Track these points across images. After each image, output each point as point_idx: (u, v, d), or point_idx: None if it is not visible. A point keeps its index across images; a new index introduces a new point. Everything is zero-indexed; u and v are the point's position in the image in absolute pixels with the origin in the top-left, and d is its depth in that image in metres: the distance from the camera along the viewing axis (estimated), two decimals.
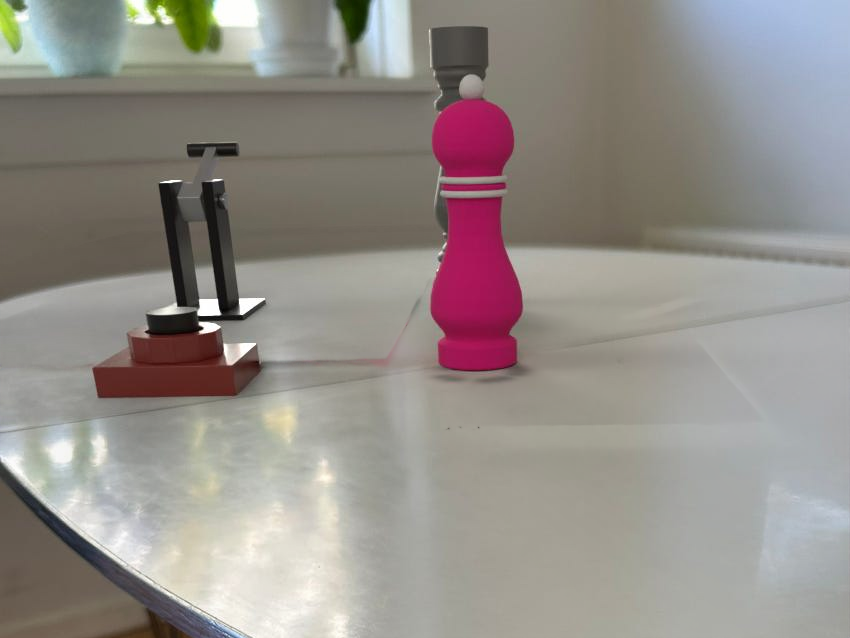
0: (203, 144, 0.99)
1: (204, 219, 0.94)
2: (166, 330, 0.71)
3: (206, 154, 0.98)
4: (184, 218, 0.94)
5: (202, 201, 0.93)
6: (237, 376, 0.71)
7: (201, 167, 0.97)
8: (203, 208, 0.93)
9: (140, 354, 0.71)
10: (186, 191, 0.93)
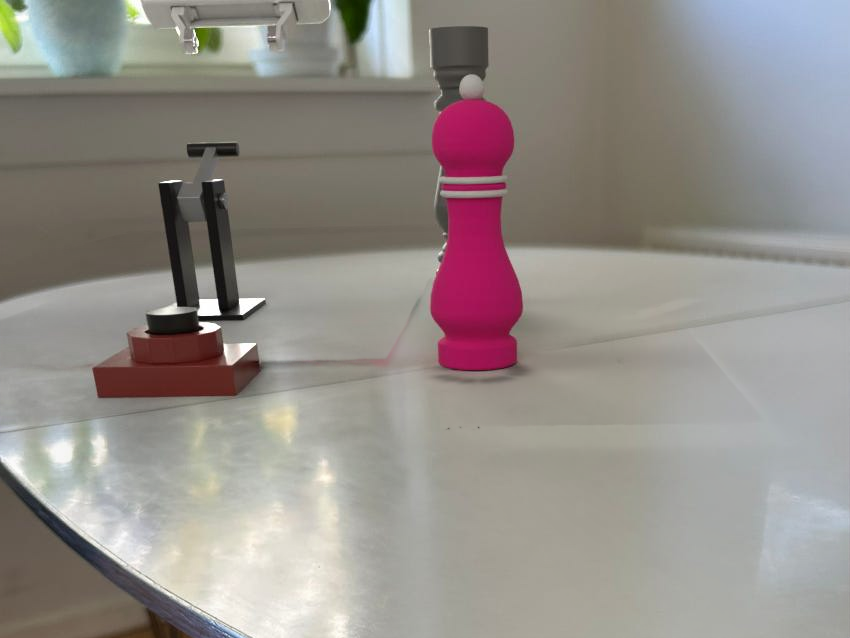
0: (203, 144, 0.99)
1: (204, 219, 0.94)
2: (166, 330, 0.71)
3: (206, 154, 0.98)
4: (184, 218, 0.94)
5: (202, 201, 0.93)
6: (237, 376, 0.71)
7: (201, 167, 0.97)
8: (203, 208, 0.93)
9: (140, 354, 0.71)
10: (186, 191, 0.93)
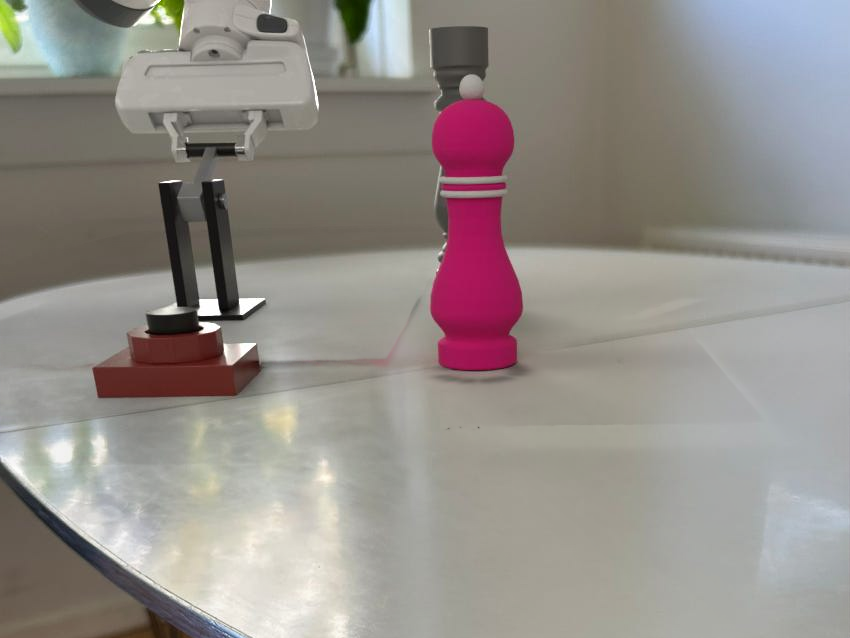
0: (203, 144, 0.99)
1: (204, 219, 0.94)
2: (166, 330, 0.71)
3: (206, 154, 0.98)
4: (184, 218, 0.94)
5: (202, 201, 0.93)
6: (237, 376, 0.71)
7: (201, 167, 0.97)
8: (203, 208, 0.93)
9: (140, 354, 0.71)
10: (186, 191, 0.93)
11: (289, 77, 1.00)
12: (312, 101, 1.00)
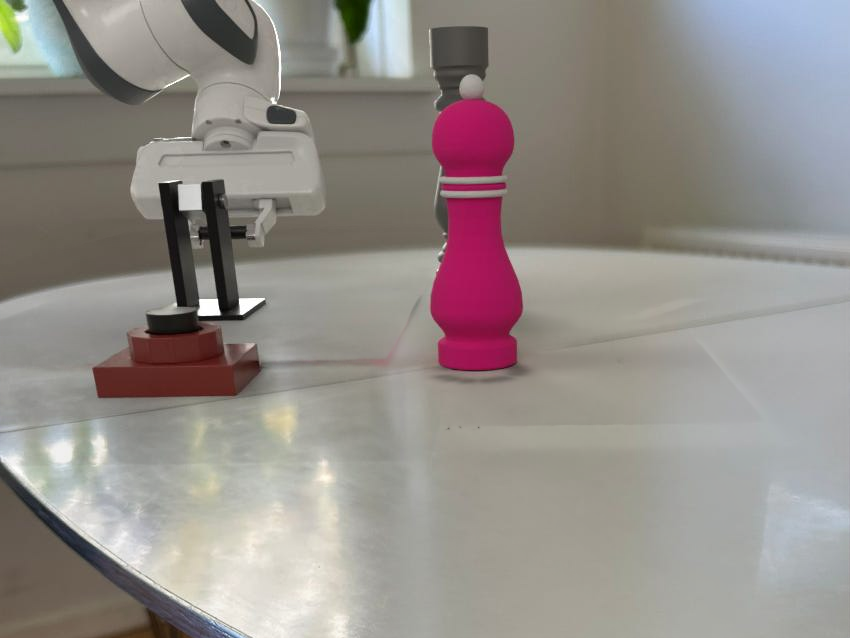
0: None
1: (200, 207, 0.92)
2: (166, 330, 0.71)
3: None
4: (180, 206, 0.92)
5: (202, 191, 0.93)
6: (237, 376, 0.71)
7: None
8: (201, 197, 0.92)
9: (140, 354, 0.71)
10: None
11: (298, 166, 1.04)
12: (320, 190, 1.04)
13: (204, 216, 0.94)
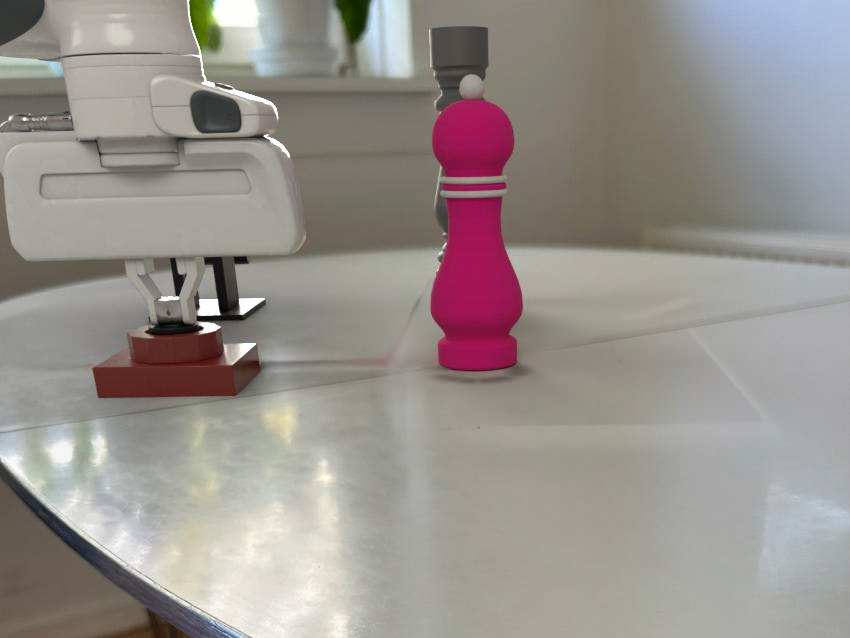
0: None
1: None
2: None
3: None
4: None
5: None
6: (237, 376, 0.71)
7: None
8: None
9: (140, 354, 0.71)
10: None
11: (259, 203, 0.67)
12: (299, 241, 0.69)
13: None
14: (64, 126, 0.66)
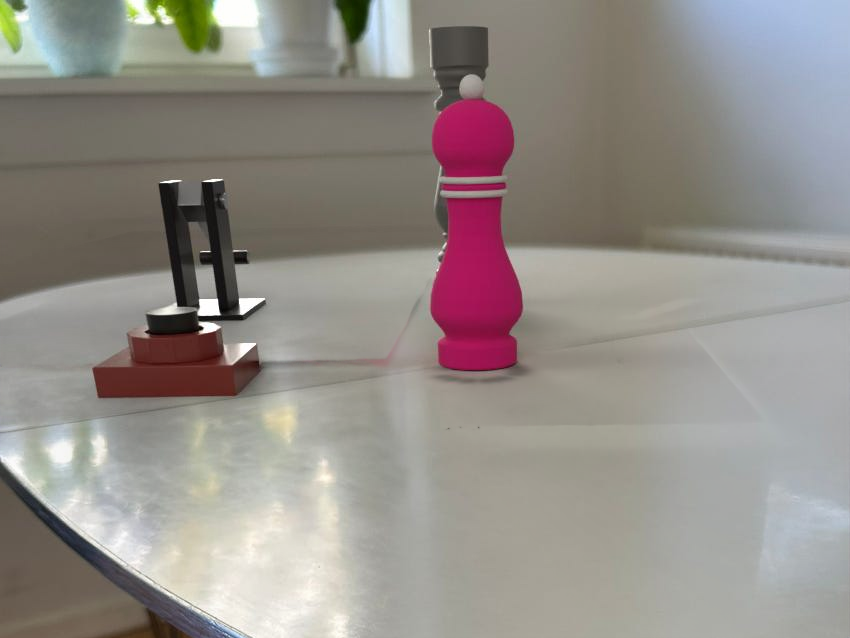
0: None
1: (199, 202, 0.92)
2: (166, 330, 0.71)
3: None
4: (179, 201, 0.92)
5: None
6: (237, 376, 0.71)
7: None
8: (201, 194, 0.93)
9: (140, 354, 0.71)
10: None
11: None
12: None
13: (203, 216, 0.94)
14: None
